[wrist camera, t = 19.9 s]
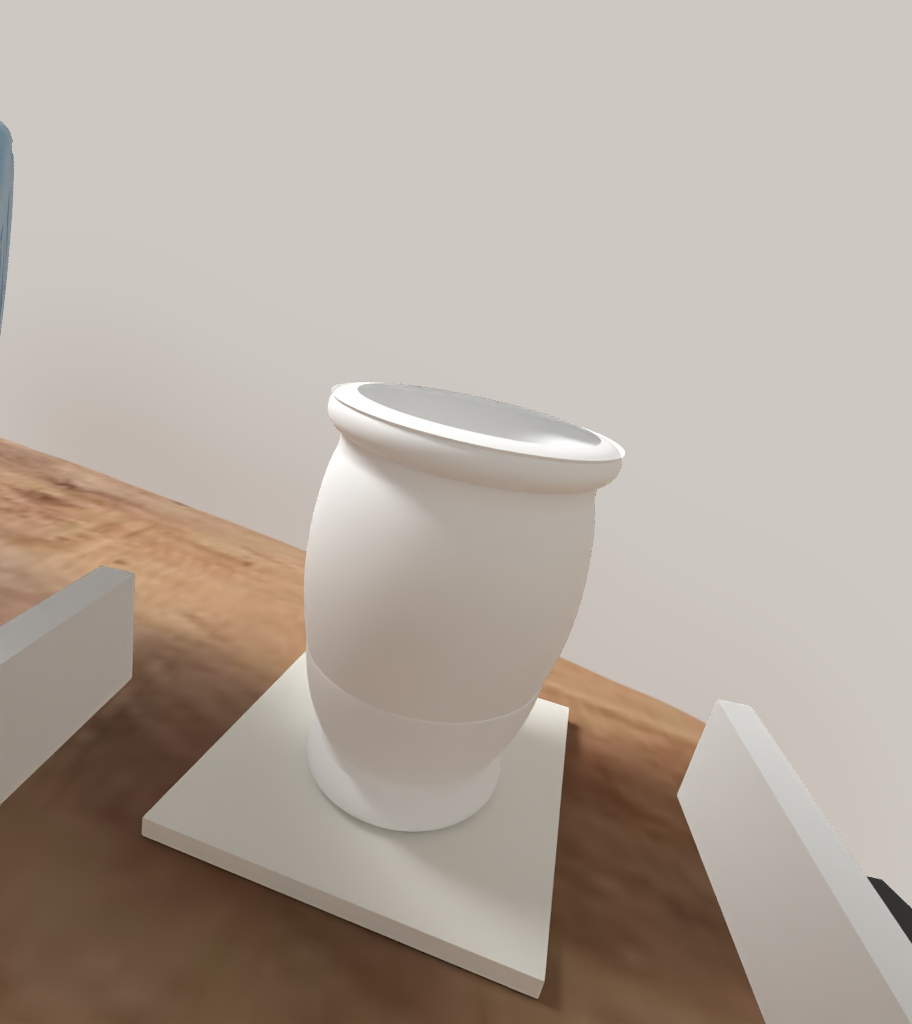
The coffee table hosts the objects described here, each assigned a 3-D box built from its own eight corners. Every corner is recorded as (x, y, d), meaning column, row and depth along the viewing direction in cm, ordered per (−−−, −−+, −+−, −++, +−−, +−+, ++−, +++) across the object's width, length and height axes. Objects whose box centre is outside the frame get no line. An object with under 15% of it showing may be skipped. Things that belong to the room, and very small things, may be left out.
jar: (357, 654, 31) (407, 375, 26) (541, 727, 28) (633, 432, 24) (219, 787, 21) (260, 380, 16) (482, 917, 19) (617, 479, 14)
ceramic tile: (141, 835, 20) (142, 817, 19) (325, 641, 33) (326, 629, 33) (538, 999, 17) (544, 981, 17) (564, 720, 30) (569, 707, 30)
